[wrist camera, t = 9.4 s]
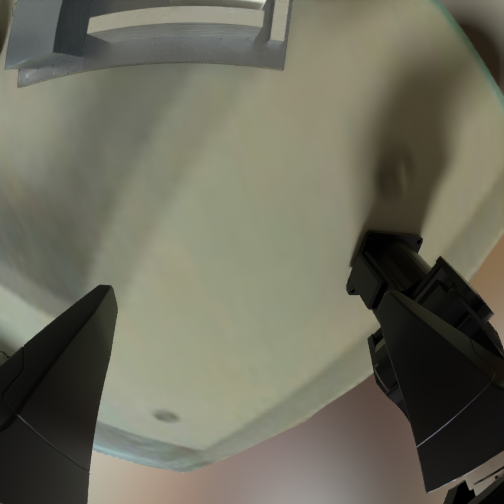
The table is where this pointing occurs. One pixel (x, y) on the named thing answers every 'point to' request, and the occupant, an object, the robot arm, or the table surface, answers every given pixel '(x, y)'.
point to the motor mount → (141, 36)
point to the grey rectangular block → (221, 3)
